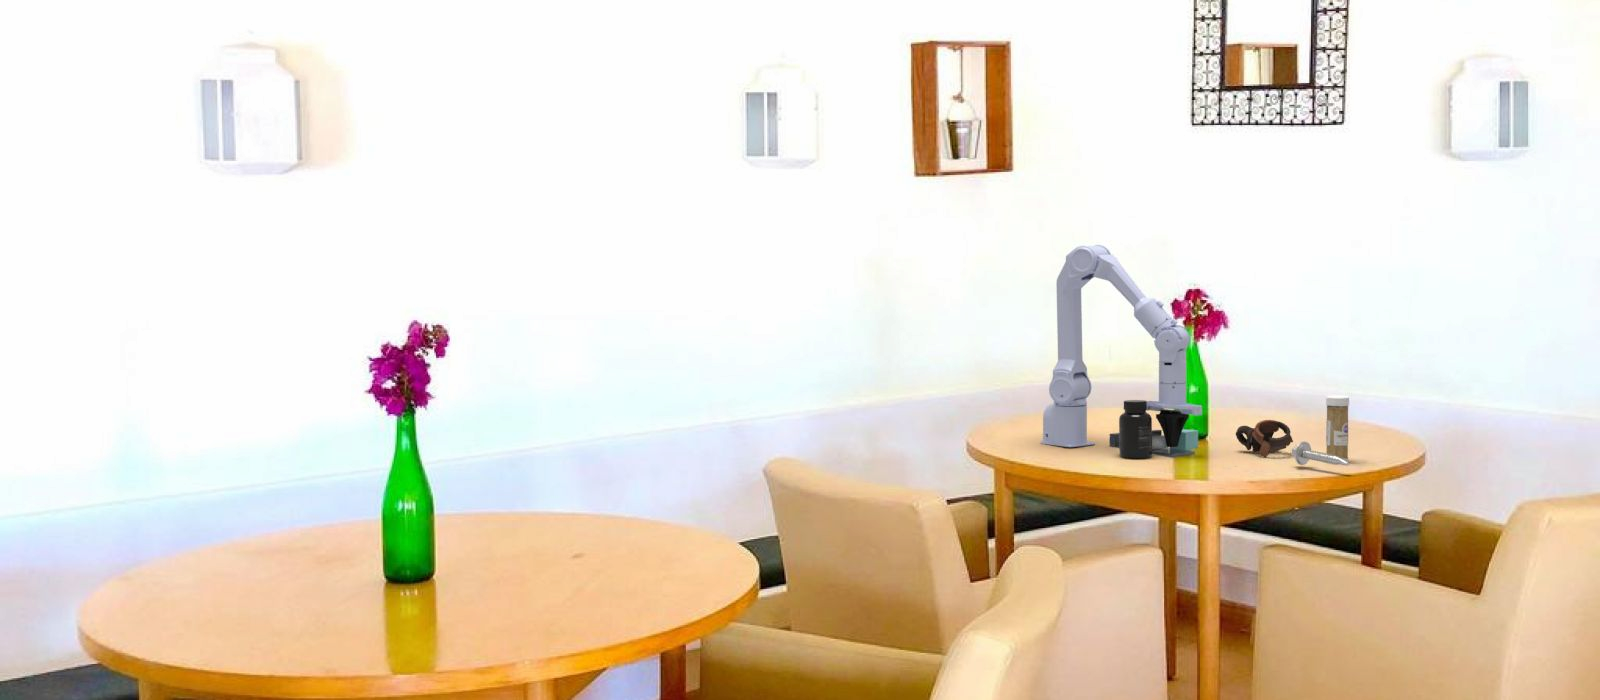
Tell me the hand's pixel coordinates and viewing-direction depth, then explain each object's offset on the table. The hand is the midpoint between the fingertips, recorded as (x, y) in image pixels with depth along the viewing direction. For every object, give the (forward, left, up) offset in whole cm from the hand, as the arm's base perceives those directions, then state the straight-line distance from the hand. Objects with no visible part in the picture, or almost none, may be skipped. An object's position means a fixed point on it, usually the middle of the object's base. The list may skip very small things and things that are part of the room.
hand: (1172, 446), depth 393 cm
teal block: (-3, +7, -2) cm, 8 cm away
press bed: (-6, 0, -2) cm, 6 cm away
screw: (+32, +8, -2) cm, 33 cm away
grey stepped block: (-6, 0, -2) cm, 7 cm away
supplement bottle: (-3, -9, -2) cm, 9 cm away
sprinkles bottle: (+28, +18, -2) cm, 34 cm away
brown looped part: (+11, +16, -3) cm, 19 cm away
